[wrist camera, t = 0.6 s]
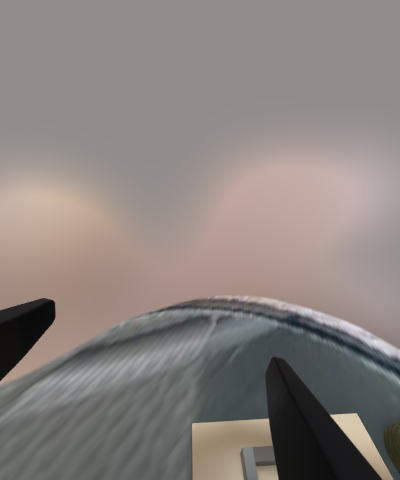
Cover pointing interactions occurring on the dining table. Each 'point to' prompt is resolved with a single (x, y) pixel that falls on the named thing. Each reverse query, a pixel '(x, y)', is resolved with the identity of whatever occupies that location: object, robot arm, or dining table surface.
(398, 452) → the cylinder
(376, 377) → the dining table surface
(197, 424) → the board
